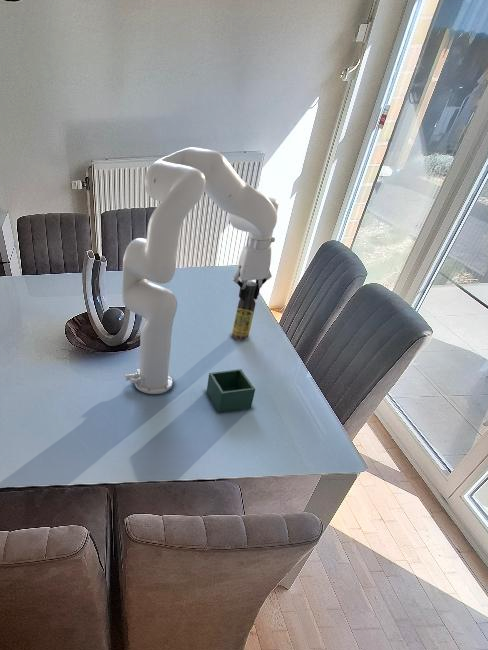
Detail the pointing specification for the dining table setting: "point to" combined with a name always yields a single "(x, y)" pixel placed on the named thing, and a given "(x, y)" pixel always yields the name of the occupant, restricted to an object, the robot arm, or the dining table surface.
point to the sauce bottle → (245, 313)
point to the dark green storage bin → (230, 390)
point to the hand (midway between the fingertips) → (248, 298)
